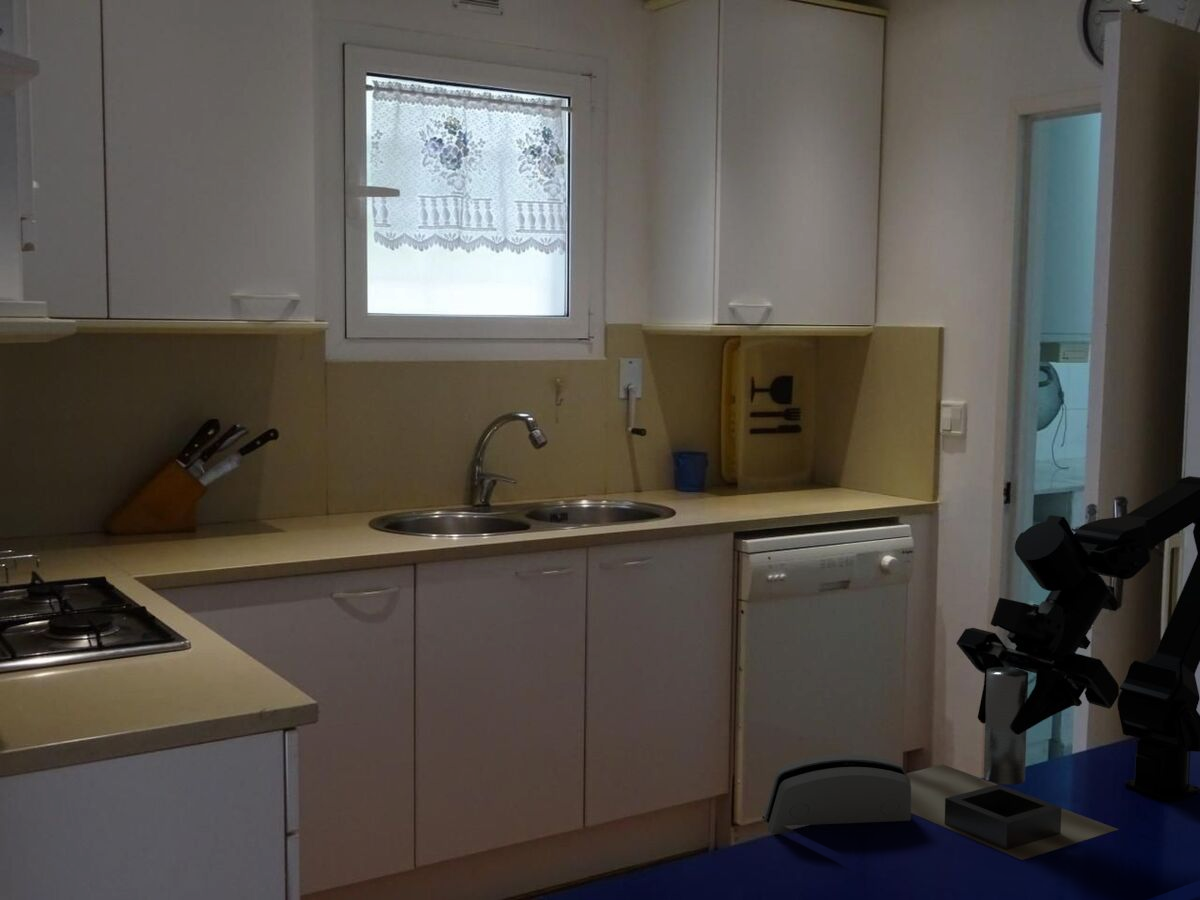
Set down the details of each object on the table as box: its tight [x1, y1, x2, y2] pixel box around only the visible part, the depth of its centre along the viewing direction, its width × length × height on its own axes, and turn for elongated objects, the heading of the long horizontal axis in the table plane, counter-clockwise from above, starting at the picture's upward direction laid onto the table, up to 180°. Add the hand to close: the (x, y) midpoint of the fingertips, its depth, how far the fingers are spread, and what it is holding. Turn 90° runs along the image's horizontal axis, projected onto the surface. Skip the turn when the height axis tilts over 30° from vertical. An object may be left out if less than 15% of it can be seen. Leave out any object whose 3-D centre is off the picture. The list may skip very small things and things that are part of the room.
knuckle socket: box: [945, 783, 1063, 850], centre depth 150 cm, size 9×9×3 cm
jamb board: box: [906, 763, 1120, 861], centre depth 157 cm, size 16×26×1 cm, turn 33°
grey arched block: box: [762, 753, 912, 834], centre depth 153 cm, size 17×5×10 cm, turn 97°
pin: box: [983, 667, 1029, 786], centre depth 149 cm, size 4×4×12 cm
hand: (997, 726), depth 148 cm, fingers closed on pin, 4 cm apart
